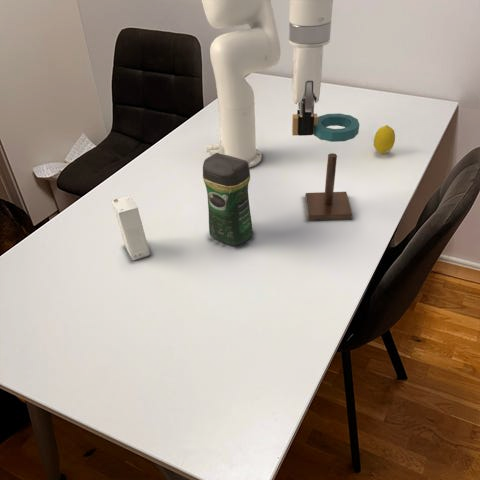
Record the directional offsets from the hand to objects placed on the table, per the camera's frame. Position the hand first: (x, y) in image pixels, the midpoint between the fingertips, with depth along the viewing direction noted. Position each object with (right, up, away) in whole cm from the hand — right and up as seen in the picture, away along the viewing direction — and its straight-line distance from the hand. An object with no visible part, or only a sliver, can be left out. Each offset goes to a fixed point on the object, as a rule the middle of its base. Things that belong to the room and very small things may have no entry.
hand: (304, 131), depth 99 cm
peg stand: (+8, -13, +15) cm, 21 cm away
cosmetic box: (-37, -24, +7) cm, 45 cm away
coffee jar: (-16, -20, +9) cm, 27 cm away
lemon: (+26, +7, +33) cm, 43 cm away
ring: (+4, 0, 0) cm, 4 cm away
